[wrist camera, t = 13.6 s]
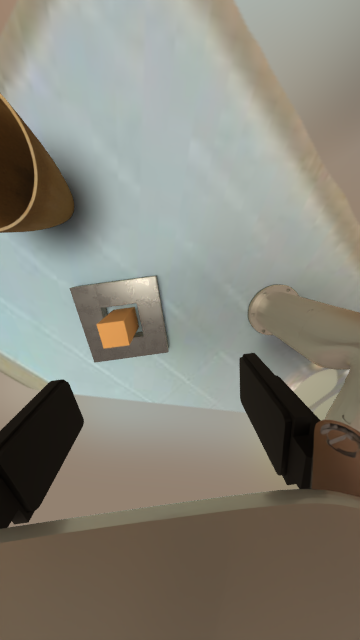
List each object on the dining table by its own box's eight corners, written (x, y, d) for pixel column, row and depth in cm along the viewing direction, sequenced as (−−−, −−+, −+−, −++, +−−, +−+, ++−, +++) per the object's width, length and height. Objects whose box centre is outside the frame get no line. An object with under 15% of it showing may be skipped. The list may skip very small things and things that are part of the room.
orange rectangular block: (134, 307, 41) (123, 320, 31) (138, 326, 42) (129, 345, 33) (113, 309, 41) (96, 324, 31) (118, 329, 42) (103, 348, 33)
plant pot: (9, 225, 34) (-118, 196, 19) (19, 137, 30) (-134, 12, 15) (85, 256, 37) (25, 252, 22) (104, 179, 33) (45, 107, 17)
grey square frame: (156, 275, 39) (155, 276, 36) (168, 346, 44) (168, 352, 42) (77, 286, 39) (69, 288, 36) (99, 355, 44) (94, 362, 42)
